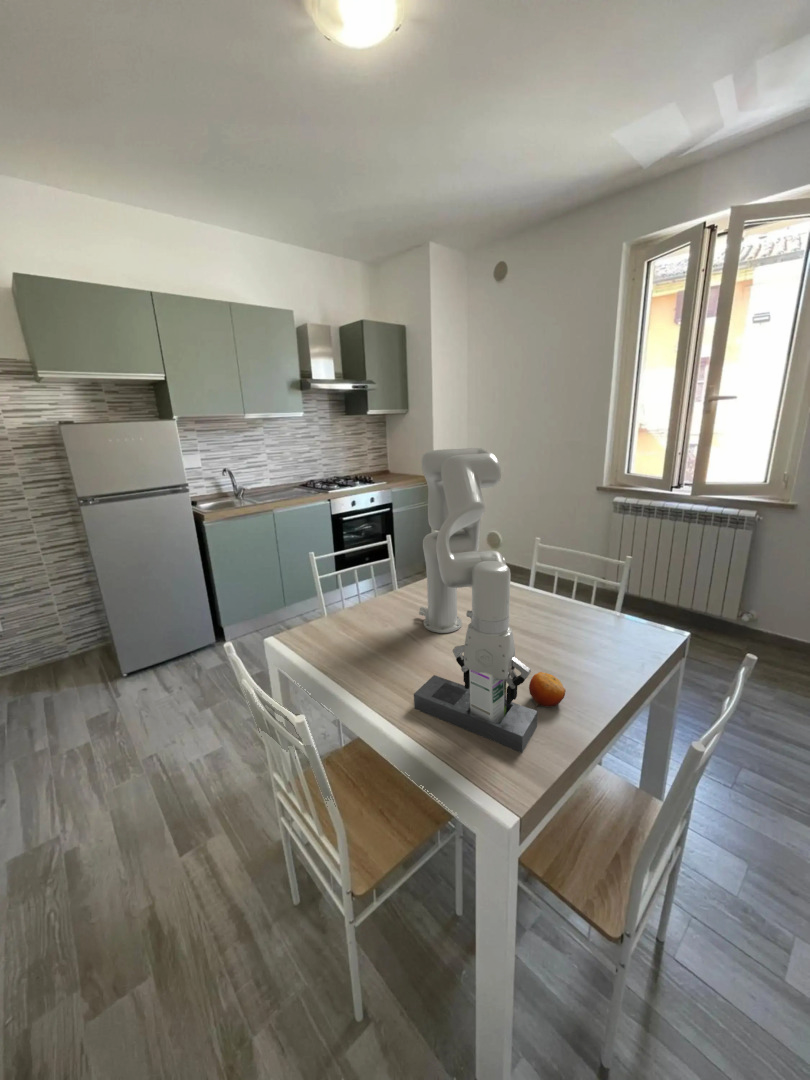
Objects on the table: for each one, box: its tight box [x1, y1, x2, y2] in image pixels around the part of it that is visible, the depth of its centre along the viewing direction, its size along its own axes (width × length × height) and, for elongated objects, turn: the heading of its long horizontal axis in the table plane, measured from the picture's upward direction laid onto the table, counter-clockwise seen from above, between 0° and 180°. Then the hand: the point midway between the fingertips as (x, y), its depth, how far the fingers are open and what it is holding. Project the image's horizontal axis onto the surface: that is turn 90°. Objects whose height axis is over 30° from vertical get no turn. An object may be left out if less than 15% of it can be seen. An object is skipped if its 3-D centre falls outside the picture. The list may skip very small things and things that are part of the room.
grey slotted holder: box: [413, 674, 539, 754], centre depth 95 cm, size 26×9×4 cm, turn 55°
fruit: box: [528, 671, 566, 709], centre depth 99 cm, size 8×8×8 cm
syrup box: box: [469, 669, 507, 725], centre depth 92 cm, size 6×6×14 cm
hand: (489, 692), depth 92 cm, fingers open, 9 cm apart
